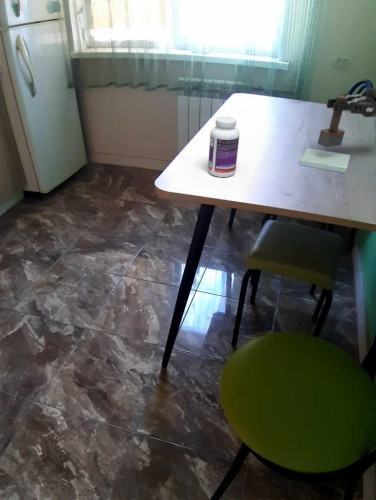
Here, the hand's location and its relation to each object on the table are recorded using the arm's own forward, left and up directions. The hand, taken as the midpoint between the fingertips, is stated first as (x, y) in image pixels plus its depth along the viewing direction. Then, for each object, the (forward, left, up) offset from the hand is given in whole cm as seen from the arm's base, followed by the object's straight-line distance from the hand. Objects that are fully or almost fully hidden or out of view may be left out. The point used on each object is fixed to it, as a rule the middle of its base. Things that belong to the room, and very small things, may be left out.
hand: (331, 105), depth 118 cm
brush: (-2, -2, -11) cm, 11 cm away
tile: (-2, -2, -16) cm, 17 cm away
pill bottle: (+25, +21, -17) cm, 37 cm away
